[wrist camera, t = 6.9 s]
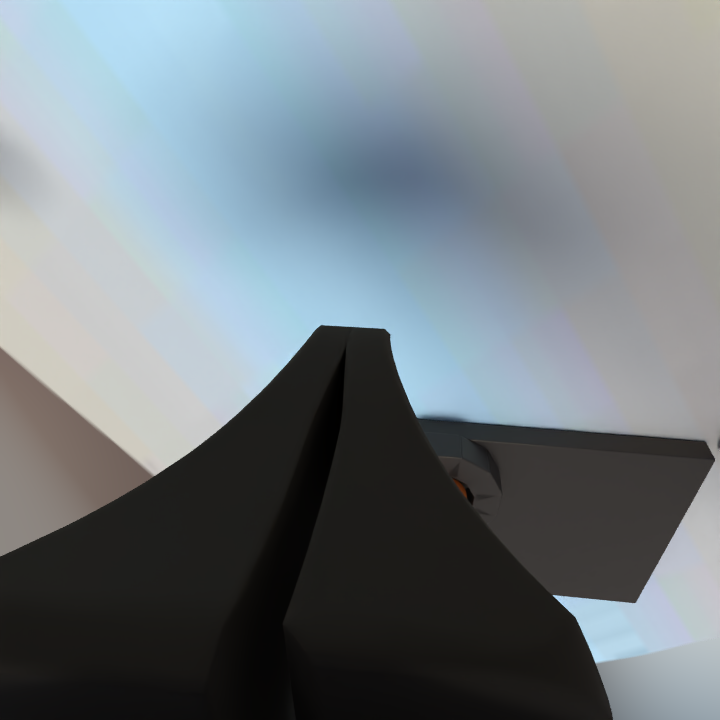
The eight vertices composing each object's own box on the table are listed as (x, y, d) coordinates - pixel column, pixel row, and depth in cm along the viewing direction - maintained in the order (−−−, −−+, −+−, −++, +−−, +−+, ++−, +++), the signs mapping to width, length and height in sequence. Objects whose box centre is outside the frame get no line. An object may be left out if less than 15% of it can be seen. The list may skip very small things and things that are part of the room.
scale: (707, 437, 24) (733, 480, 22) (629, 585, 31) (643, 628, 29) (381, 411, 25) (377, 450, 23) (373, 560, 32) (369, 600, 30)
